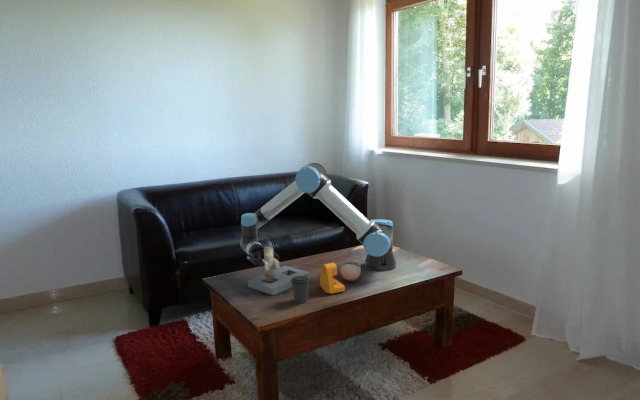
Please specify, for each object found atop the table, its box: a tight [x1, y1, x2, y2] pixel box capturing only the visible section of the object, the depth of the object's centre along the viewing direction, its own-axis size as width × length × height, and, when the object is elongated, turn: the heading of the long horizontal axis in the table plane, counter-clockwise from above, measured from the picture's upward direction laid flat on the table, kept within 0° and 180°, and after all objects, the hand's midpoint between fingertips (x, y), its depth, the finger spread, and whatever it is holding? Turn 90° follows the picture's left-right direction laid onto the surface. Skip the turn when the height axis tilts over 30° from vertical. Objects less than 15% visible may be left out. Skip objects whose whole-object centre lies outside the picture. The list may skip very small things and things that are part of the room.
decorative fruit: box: [339, 259, 362, 283], centre depth 216 cm, size 9×8×10 cm
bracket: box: [319, 262, 346, 295], centre depth 208 cm, size 11×7×12 cm, turn 24°
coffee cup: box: [291, 276, 311, 304], centre depth 197 cm, size 8×8×10 cm
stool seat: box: [247, 265, 312, 296], centre depth 218 cm, size 24×16×3 cm, turn 140°
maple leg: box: [264, 246, 275, 282], centre depth 212 cm, size 4×4×15 cm
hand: (273, 265), depth 207 cm, fingers closed on maple leg, 4 cm apart
